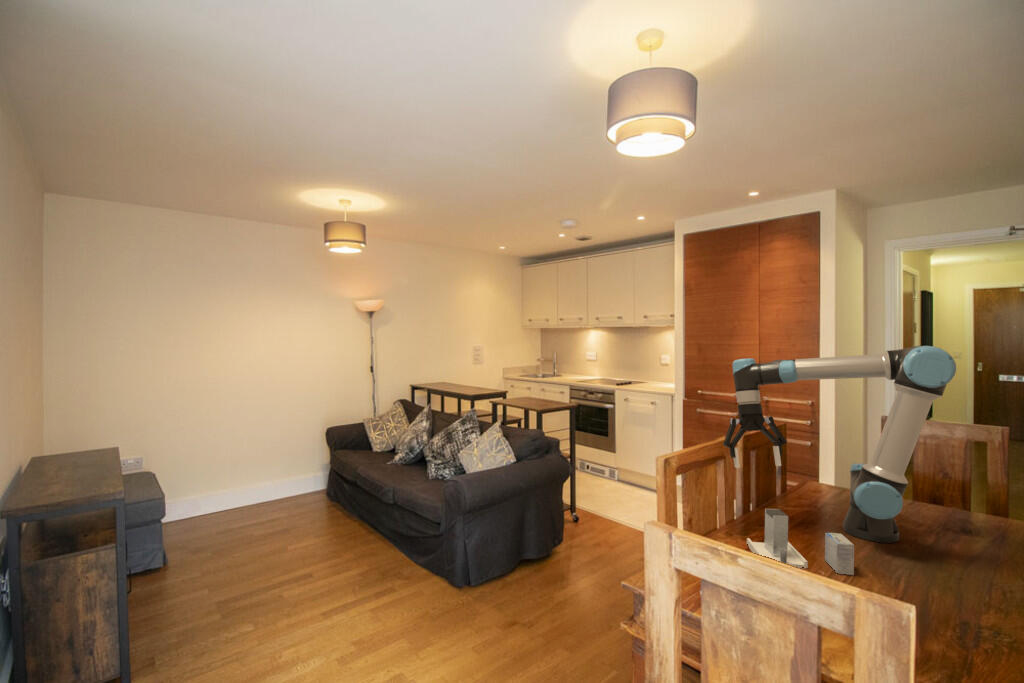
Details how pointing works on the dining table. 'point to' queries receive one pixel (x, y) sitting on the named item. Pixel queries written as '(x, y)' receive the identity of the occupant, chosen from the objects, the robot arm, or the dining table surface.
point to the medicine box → (839, 553)
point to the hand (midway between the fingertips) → (757, 466)
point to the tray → (790, 555)
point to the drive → (776, 531)
